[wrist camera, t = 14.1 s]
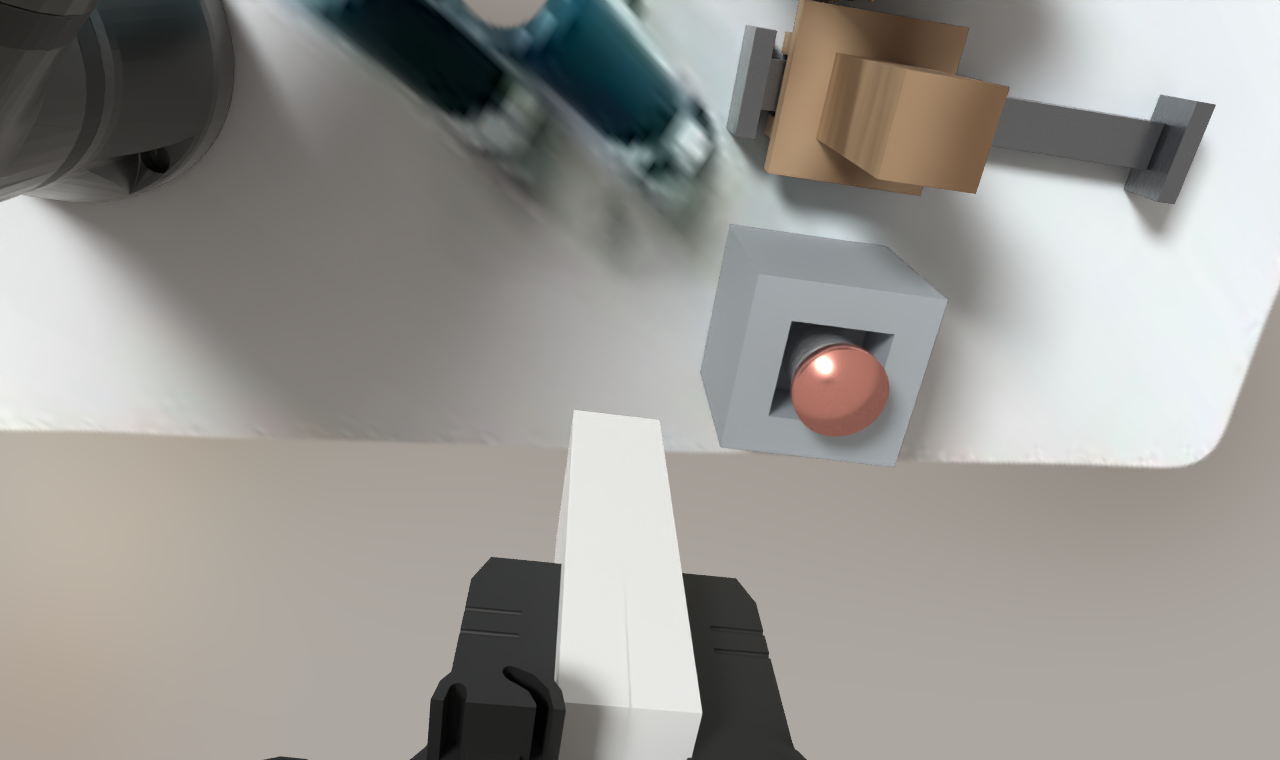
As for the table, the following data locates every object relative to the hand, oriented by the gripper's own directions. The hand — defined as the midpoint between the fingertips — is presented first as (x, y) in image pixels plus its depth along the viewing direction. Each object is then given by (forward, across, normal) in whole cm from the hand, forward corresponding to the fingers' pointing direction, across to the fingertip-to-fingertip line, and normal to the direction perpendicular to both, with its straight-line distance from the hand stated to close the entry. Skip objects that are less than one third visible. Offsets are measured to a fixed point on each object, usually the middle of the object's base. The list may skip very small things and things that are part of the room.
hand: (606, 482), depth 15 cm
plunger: (+25, +12, -7) cm, 29 cm away
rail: (+32, +18, +5) cm, 37 cm away
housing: (+32, +12, -7) cm, 35 cm away
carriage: (+32, +12, +5) cm, 35 cm away
